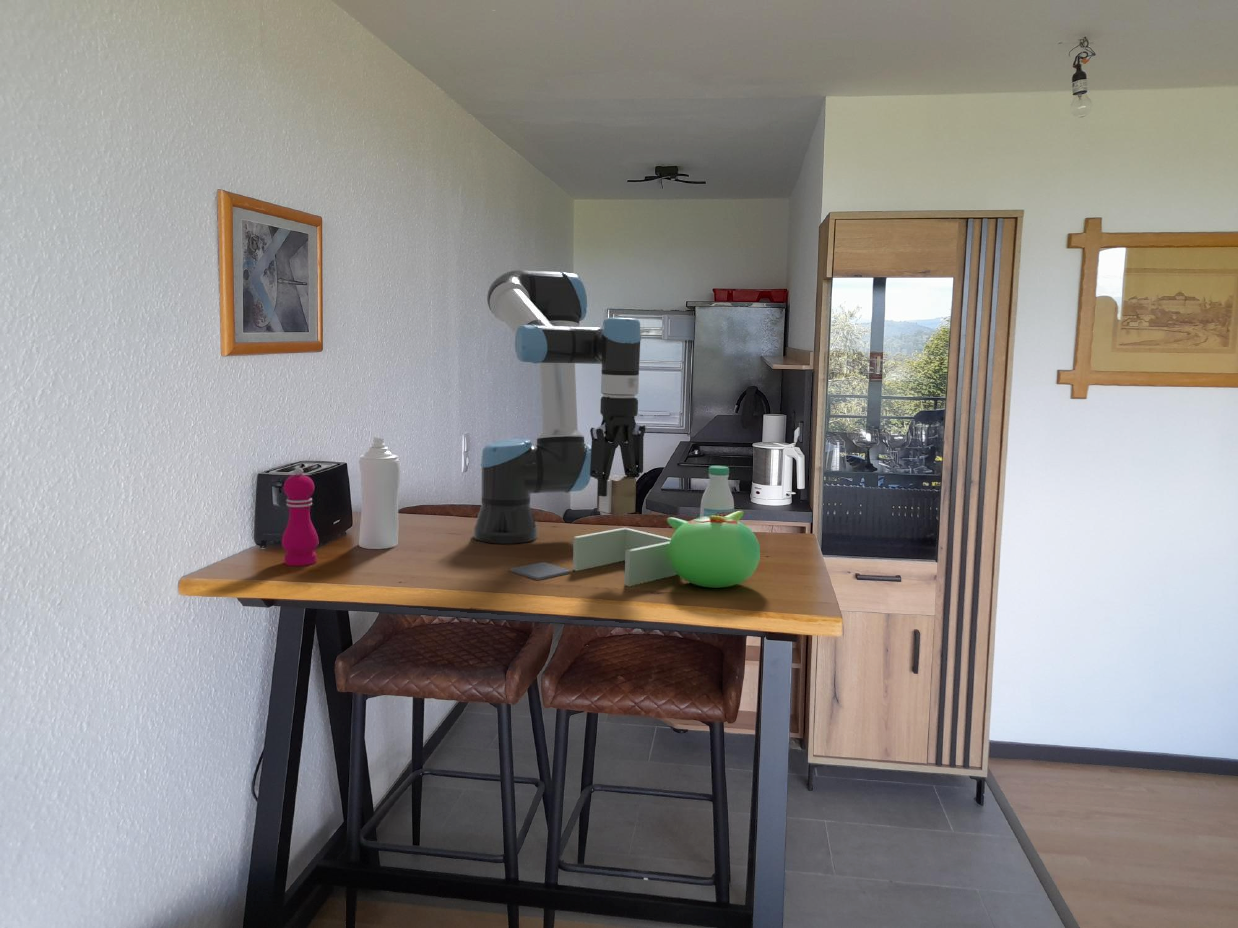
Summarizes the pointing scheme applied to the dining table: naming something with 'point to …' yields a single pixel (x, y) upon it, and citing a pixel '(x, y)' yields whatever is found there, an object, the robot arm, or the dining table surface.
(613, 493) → the walnut block
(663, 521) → the dining table surface
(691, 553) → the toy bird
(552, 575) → the coaster
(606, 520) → the dining table surface
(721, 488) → the milk bottle
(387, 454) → the spray can
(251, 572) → the dining table surface
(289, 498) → the pepper mill
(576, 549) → the u-shaped panel enclosure
